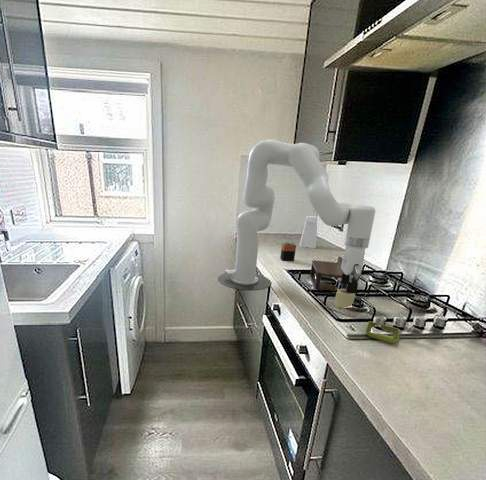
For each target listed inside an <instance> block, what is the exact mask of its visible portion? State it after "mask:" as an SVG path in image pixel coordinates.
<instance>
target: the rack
mask: <svg viewBox="0 0 486 480" xmlns="http://www.w3.org/2000/svg"><path fill="white" fill-rule="evenodd" d="M342 260H343V257H341V256H338V257H337V262H335V261H325V260H316V259H315V260H312V261H311V268H310V273H309V278H310V281H311V284H312V288H313V287H314V288H313V290H314V289H317V290H331V291H336V290H337V287H336V286H334V285H332V284H326V283H323V282H320V281H321V276H325V277H334V278H337V279H338V281H339V282H340V280H339V279H342V273H343V271H342V269H341V264H342ZM315 273H316V274H315ZM315 275H317V276H316V279H315ZM340 284H341V282H340ZM341 285H342V287H341V289H347V285H348V284H341Z"/></svg>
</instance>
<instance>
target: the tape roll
mask: <svg viewBox="0 0 486 480" xmlns="http://www.w3.org/2000/svg"><path fill="white" fill-rule="evenodd" d="M346 290H347V288H346V289H337V292H336V294H335V297H334V301H333V305H334V306H335V307H336V308H339V307H341V308H340V309H343V308H345V307H348V306H351V305H352V304H353V305H354V303H355V299H356V298H355V297H356V294H354V293H347V292H346ZM353 302H354V303H353Z"/></svg>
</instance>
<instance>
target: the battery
mask: <svg viewBox="0 0 486 480" xmlns="http://www.w3.org/2000/svg"><path fill="white" fill-rule="evenodd" d="M296 249H297V245H296V244H295V243H294V242H290V243H289V242H288V241H284V242H282V243H281V250H280V255H279V257H280V258H279V259H280V260H281V261H283V262H294V261H295V256H296Z"/></svg>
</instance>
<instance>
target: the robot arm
mask: <svg viewBox="0 0 486 480" xmlns="http://www.w3.org/2000/svg"><path fill="white" fill-rule="evenodd" d="M268 165H276V166H277V165H279V166H286V167H292V168H293V169H294V171H295V172H296V174H297V175H298V177H299V179H300V180H301V182H302V183H303V185H304V187H305V188H306V192H307V195H308V199H309V201H310V204H311V206H312V208H313V210H314V212H316V215H318V217H319V219H320V221H322V223H323V224H325V225H326V226H329V227H338V226H340V225H341V226H342V225H347V229H346V234H345V241H344V246H345V248H344V251H343V255H342V259H343V260H342V264H341V269H342V271H343V273H342V278H340V283H341V285H342V284H347V288H346V289H347V290H346V292H347V293H354V294H355V295H356V294H357V292H358V286H359V282H360V281H359V280H360V276H361V274H362V271H363V266H364V260H365V253H366V249H368V248H369V246H370V241H371V235H372V230H373V225H374V221H375V215H376V208H375V207H374V206H371V205H360V204H359V205H354V204H350V203H345V202H338V201H337V199H336V198H335V196H334V195H333V193H332V191H331V190H330V186H329V179H330V176H329V173H328V171H327V170H326V168H325V167H324V166H323V164H322V162H321V161H320V151H319V149H318V148H317V147H316V146H315V145H313V144H310V143H307V142H298V143H290V142H289V143H287V142H283V141H279V140H276V139H264V140H261V141H259V142H258V143H256V144H255V145H254V146H253V147H252V149H250V152H249V156H248V161H247V171H246V177H245V184H244V190H243V195H242V196H243V198H242V199H243V203H244V205H245V207H248V208H251V209H252V210H251V209H250V210H245V211H243V212H241V213H239V215H238V216H237V218H236V222H235V223H236V224H235V226H236V251H235V263H234V269H225V270H224V273H225V274H227V275H232V276H231V281H233V282H234V283H237V284H242V285H253V284H256V283H257V282H258V278H257V277H255V274H257V262H258V255H259V242H260V241H259V235H258V233H259V232H262V231H264V230H266V229H267V228H268V227H269V226H270V224H271V221H272V217H273V209H274V205H275V200H276V199H275V197H276V195H275V192H274V189H273V188H272V187H271V185H268V184H267V182H268V176H269V169H268Z"/></svg>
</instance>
